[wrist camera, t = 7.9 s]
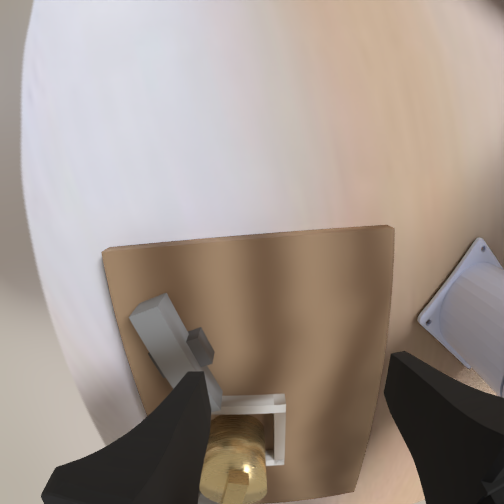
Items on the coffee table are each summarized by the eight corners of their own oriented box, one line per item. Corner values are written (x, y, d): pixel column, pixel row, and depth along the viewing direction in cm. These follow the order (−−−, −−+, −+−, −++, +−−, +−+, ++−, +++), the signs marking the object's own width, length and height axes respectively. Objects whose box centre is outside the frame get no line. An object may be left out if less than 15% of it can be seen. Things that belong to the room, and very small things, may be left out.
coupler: (211, 404, 21) (200, 479, 14) (270, 412, 21) (276, 486, 15) (205, 446, 22) (195, 513, 16) (257, 452, 23) (259, 520, 16)
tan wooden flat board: (386, 224, 19) (412, 236, 15) (351, 483, 26) (358, 508, 23) (109, 247, 19) (83, 263, 16) (187, 494, 26) (183, 519, 23)
